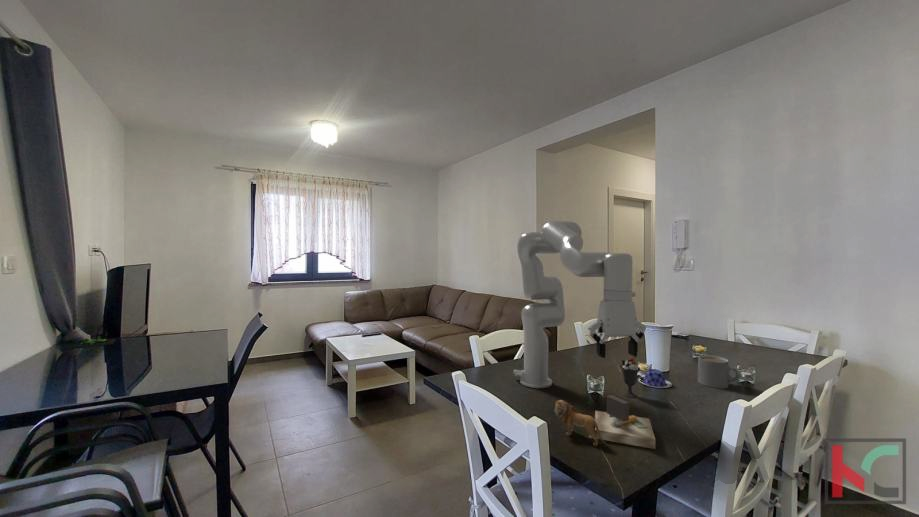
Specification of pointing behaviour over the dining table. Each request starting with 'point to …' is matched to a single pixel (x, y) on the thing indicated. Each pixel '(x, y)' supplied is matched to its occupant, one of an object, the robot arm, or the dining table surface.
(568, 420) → the lion figurine
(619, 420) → the latch
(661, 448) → the dining table surface
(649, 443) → the dial board
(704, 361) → the coffee mug
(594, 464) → the dining table surface
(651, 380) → the plate of grapes
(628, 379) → the sundae
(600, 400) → the dining table surface
